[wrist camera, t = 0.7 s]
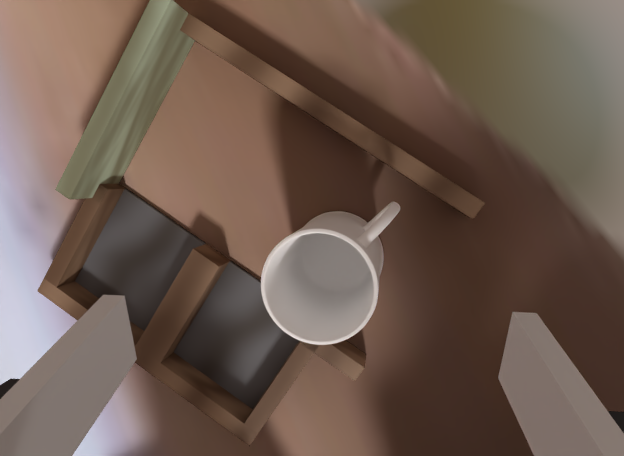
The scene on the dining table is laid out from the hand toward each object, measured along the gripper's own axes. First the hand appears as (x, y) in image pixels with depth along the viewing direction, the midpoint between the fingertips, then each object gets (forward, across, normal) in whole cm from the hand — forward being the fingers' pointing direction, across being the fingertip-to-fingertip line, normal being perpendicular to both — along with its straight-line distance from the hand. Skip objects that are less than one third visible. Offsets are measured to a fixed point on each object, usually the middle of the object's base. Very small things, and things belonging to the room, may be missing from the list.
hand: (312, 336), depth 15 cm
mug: (+25, -2, +8) cm, 26 cm away
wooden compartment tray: (+25, +9, +9) cm, 28 cm away
